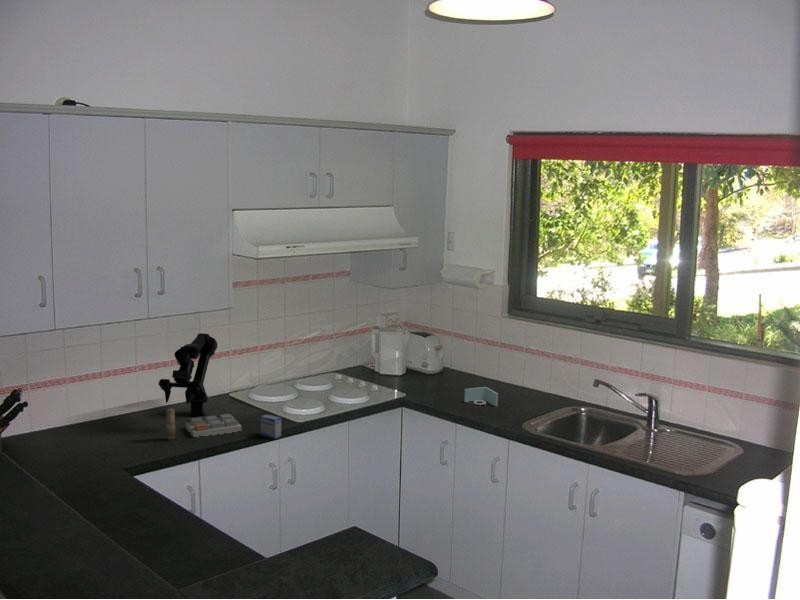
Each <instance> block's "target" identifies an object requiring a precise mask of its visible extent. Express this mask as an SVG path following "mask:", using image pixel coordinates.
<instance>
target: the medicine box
mask: <svg viewBox="0 0 800 600" xmlns="http://www.w3.org/2000/svg"><path fill="white" fill-rule="evenodd" d="M260 436H261V437H265V438H270V439H275V440H276V439H278V438H280V437H281V436H282V417H281V416H275V415H271V414H264V415H262V416H260Z"/></svg>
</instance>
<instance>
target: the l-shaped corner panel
mask: <svg viewBox="0 0 800 600" xmlns="http://www.w3.org/2000/svg"><path fill="white" fill-rule="evenodd" d="M484 400H485V401H484ZM463 401H464V402H468V403H470V402H469V401H474V402H472V403H473V404H476V405H480V406H479V407H481V405H485V406H487V404H489V403H490V405H491V404H492V405H491V406H493V405H494V406H497V407H498V403H499V393H498V392H496V391H494V390H493V389H491V388H489V387H487V386H481V387H479V386H478V387H473V388H464V399H463ZM486 401H487V402H488V403H487V402H486ZM477 402H482V403H477ZM473 404H472V405H473ZM494 406H493V407H494Z"/></svg>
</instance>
